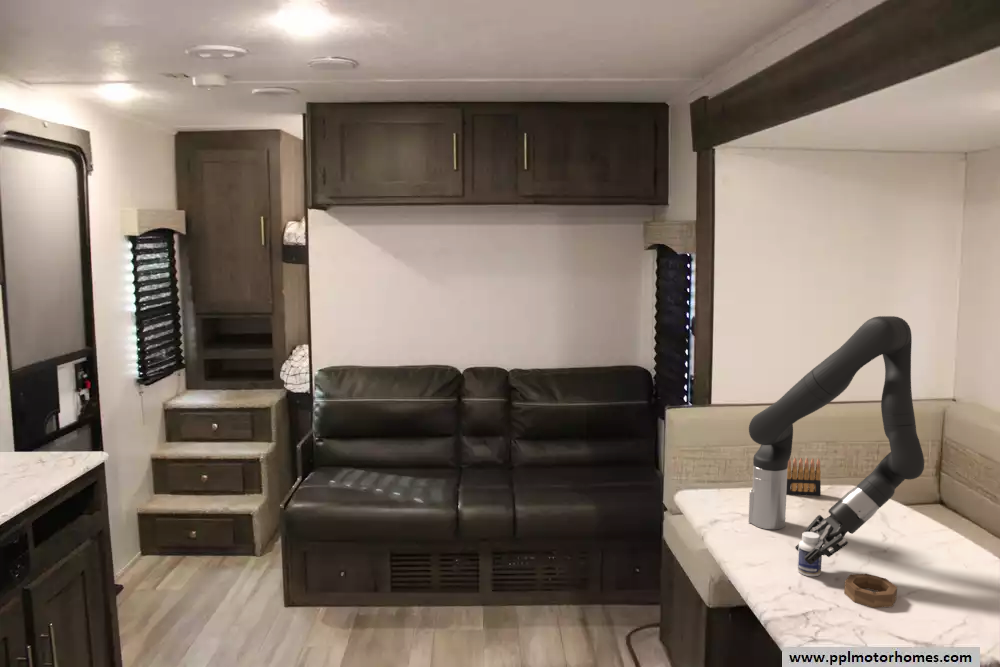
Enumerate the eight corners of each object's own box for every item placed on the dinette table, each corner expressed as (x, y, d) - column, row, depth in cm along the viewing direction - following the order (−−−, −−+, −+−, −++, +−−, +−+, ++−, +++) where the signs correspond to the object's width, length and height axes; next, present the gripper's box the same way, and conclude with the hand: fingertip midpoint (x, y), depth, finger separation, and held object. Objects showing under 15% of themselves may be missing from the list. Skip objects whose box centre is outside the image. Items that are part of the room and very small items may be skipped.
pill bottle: (822, 577, 188) (824, 539, 186) (799, 576, 189) (801, 538, 187) (818, 568, 193) (820, 531, 191) (795, 566, 194) (797, 529, 192)
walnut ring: (840, 598, 178) (841, 586, 177) (852, 581, 185) (853, 570, 185) (888, 611, 171) (889, 599, 171) (899, 594, 179) (900, 582, 179)
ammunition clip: (819, 494, 244) (821, 457, 242) (820, 496, 242) (822, 459, 240) (783, 492, 246) (785, 456, 244) (785, 494, 244) (786, 458, 242)
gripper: (831, 489, 195) (781, 534, 197) (856, 510, 181) (802, 558, 183) (851, 509, 196) (801, 553, 198) (877, 531, 181) (824, 579, 183)
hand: (802, 556), depth 190 cm, fingers closed on pill bottle, 5 cm apart
